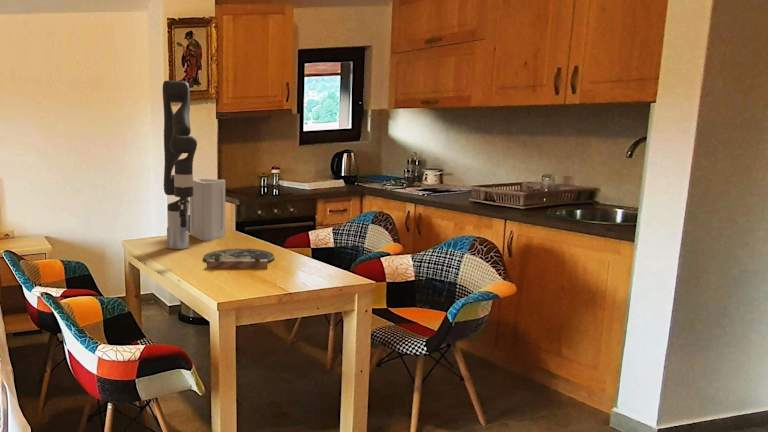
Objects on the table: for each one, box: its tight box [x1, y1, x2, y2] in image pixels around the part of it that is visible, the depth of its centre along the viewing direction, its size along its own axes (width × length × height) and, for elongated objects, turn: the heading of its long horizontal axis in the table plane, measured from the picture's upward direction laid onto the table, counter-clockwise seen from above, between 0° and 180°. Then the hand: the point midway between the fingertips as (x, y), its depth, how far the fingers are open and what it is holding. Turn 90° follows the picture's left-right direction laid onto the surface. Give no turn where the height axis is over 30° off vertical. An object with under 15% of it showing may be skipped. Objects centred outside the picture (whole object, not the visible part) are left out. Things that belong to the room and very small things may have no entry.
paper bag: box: [189, 178, 226, 242], centre depth 339 cm, size 19×15×28 cm
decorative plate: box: [202, 248, 275, 264], centre depth 294 cm, size 30×2×30 cm
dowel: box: [180, 208, 190, 232], centre depth 281 cm, size 4×4×9 cm
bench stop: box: [206, 253, 268, 269], centre depth 278 cm, size 24×3×6 cm, turn 100°
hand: (184, 226), depth 282 cm, fingers closed on dowel, 3 cm apart
